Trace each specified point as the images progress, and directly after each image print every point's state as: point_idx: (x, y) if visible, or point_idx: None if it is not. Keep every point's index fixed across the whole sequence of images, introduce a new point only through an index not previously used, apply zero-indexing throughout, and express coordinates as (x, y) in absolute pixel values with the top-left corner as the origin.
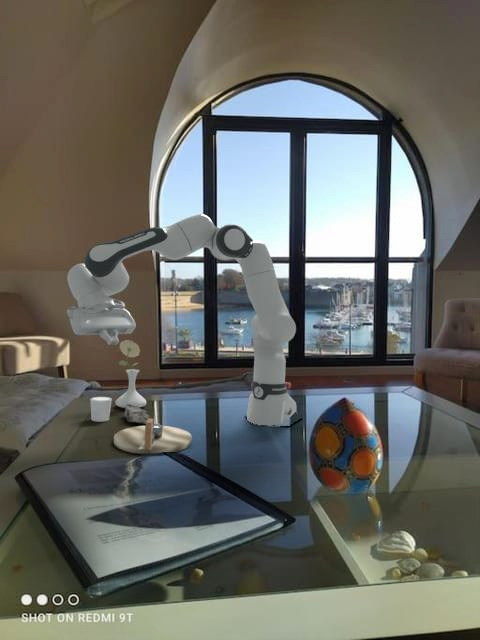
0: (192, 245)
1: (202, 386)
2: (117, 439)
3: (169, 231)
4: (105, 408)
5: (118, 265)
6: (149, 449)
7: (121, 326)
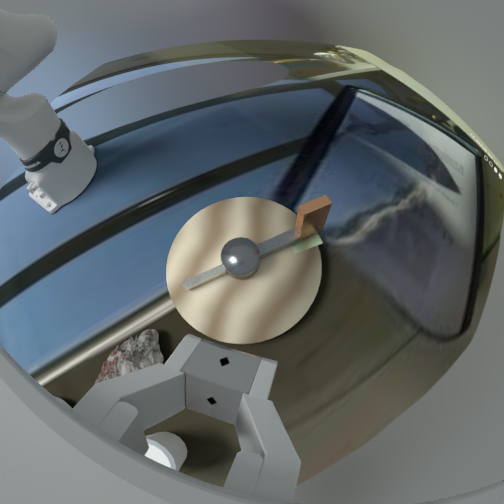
0: None
1: None
2: (301, 309)
3: None
4: (165, 439)
5: None
6: None
7: (12, 368)
